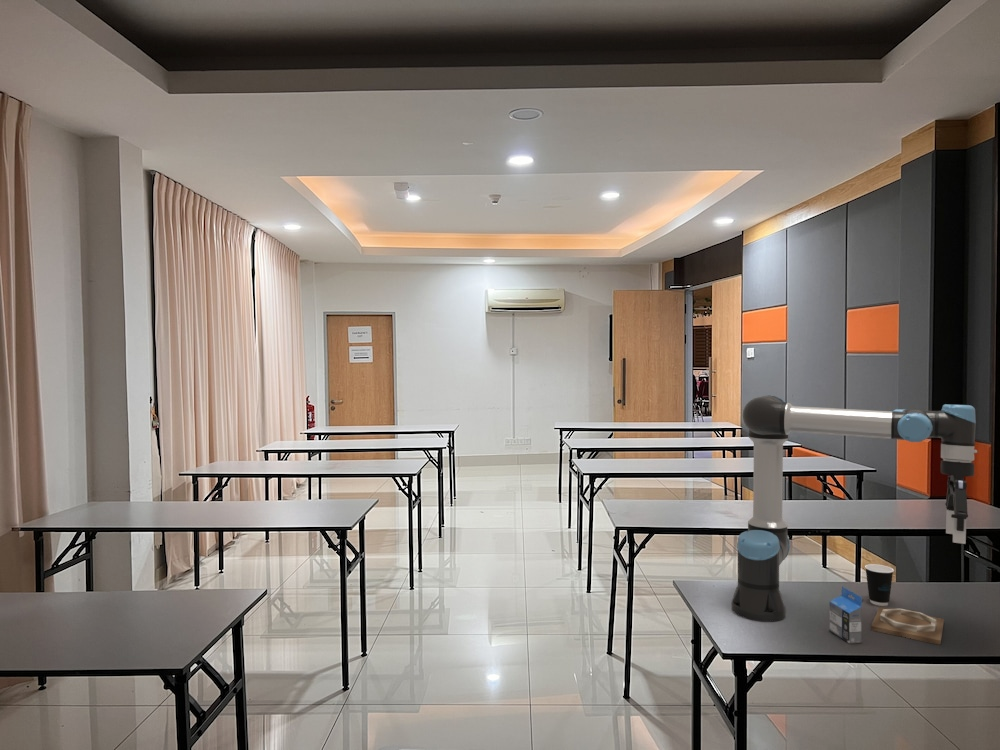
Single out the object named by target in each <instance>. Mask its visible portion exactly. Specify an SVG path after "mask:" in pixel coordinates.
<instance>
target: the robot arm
mask: <svg viewBox="0 0 1000 750" xmlns="http://www.w3.org/2000/svg"><path fill="white" fill-rule="evenodd" d="M742 410H743V411H742V420H743V422H744V425H745V427H747V430H748V438H749V439H750V440H751V442H752V443H753V489H752V490H753V496H752V497H753V500H752V501H753V503H752V505H753V506H752V507H753V509H752V517H751V518H750V519H748V521H747V530H746V531H743V532H741V533H740V534H739V535H738V537H737V543H736V548H737V586H736V588H735V591H734V593H733V597H732V600H731V610H732V612H733V613H734V614H736V615H738V616H739V617H742V618H745V619H748V620H752V621H758V622H778V621H781V620H783V619H785V618H786V616H787V615H786V613H787V612H786V611H787V610H786V609H787V608H786V605H785V602H784V599H783V596H782V593H781V590H780V566H781V564H782V563H783V561H784V560H786V558H788V555H789V553H790V548H791V544H790V543H791V542H790V539H789V535H788V523H787V522H785V521H784V519H783V480H784V479H783V473H784V472H783V471H784V469H783V468H784V460H783V459H784V457H783V456H784V444H785V443H786V442H787V441H788V440H789V435H790V434H791V433H802V434H803V433H805V434H806V433H807V434H818V435H832V436H834V435H835V436H846V437H862V438H875V439H876V438H878V439H889V440H900V441H907V442H911V443H919V442H923V441H925V440H926V439H928V438H935V439H936V438H937V439H938V438H939V439H941V443H940V458H941V459H942V460H940V473H941V474H942V475H948V476H947V481H946V482H947V483H946V484H947V485H946V486H947V491H946V497H945V498H946V499H945V509H946V515H945V517H946V518H945V519H946V521H945V534H949V535H952V543H956V544H964V545H966V543H967V542H966V540H967V519H968V517H969V514H968V501H967V500H968V499H967V496H968V495H967V487H968V486H967V485H968V483H967V481H966V480H965V477H967V478H970V477H974V476H975V463H974V462H973V461H975V454H977V453H978V450H977V449H975V446H976V423H977V421H976V409H975V407H974V406H972V405H969V404H946V403H945V404H943V405H942V407H941V410H922V409H908V408H903V409H899V408H896V409H894V410H893V411H892V410H891V411H888V410H874V409H873V410H872V409H853V408H836V407H833V408H832V407H818V406H817V407H816V406H814V407H813V406H798V405H793V404H792V403H791V402H788V401H785V400H784V399H782V398H781V397H778V396H776V395H771V394H770V395H769V394H767V395H762V396H758V397H755V398H753V399H750V400H749V401H748V402H747V403H746V404H745V406H744V407H743V409H742Z"/></svg>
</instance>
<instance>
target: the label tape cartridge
mask: <svg viewBox="0 0 1000 750" xmlns="http://www.w3.org/2000/svg"><path fill="white" fill-rule="evenodd" d="M850 596H852V597H853V598H852V597H850ZM862 604H863V597H862V596H860V595H859V594H857V593H855V592H853V591H851V590H849V589H847V588H846V587H844V586H841V595H839V596H837V597H835V598H833V599H832V600H829V631H830V632H831V633H833V634H835V635H836V636H837V637H839V638H840V639H842V640H843V641H845V642H846V643H848V644H850V645H852V644H862V606H863V605H862Z"/></svg>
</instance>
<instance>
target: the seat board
mask: <svg viewBox="0 0 1000 750" xmlns="http://www.w3.org/2000/svg"><path fill="white" fill-rule="evenodd" d="M944 626H945V619H944V618H942V617H935V616H930V615H927V614H925V613H923V612H920V611H915V610H909V609H904V608H890V607H889V608H888V607H885V606H879V607H878V610H877V612H876V614H875V616H874V619H873V620H872V623H871V626H870V631H873V632H878V633H882V634H883V633H884V634H886V635H892V636H897V637H901V636H902V637H901V638H905V637H906V638H905V639H910V638H911V640H915V641H920V642H925V643H930V644H933V645H941V644H942V643H941V642H942V637H943V633H944Z"/></svg>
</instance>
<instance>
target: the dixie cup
mask: <svg viewBox="0 0 1000 750" xmlns="http://www.w3.org/2000/svg"><path fill="white" fill-rule="evenodd" d="M864 569H865V575H866V582H867V584H866V585H867V591H868V598H869V602H870V604H873V605H875V606H879V607H887V606H888V605H889V602H890V599H891V589H892V582H893V574H894V572H895V570H894V568H893V567H890V566H887V565H883V564H878V563H877V564H876V563H875V564H874V563H871V564H866V565H864Z"/></svg>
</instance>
